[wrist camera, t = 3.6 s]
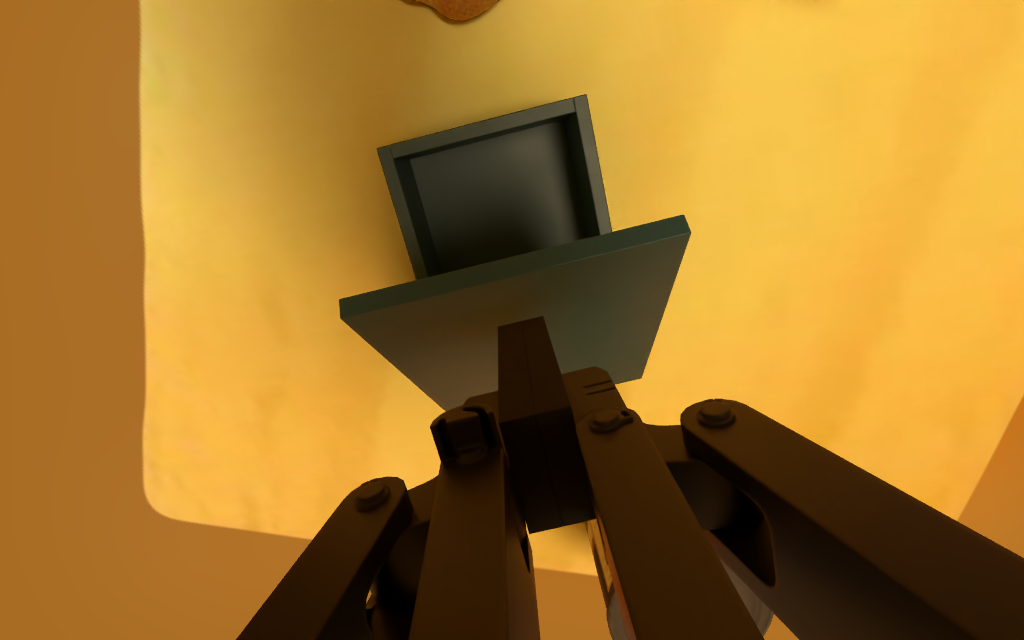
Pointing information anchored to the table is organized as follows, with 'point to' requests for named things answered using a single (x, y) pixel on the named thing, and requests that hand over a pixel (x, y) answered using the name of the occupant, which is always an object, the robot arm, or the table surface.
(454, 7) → the bread roll
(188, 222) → the table surface
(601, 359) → the lunchbox lid
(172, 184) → the table surface
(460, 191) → the box
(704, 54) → the table surface
